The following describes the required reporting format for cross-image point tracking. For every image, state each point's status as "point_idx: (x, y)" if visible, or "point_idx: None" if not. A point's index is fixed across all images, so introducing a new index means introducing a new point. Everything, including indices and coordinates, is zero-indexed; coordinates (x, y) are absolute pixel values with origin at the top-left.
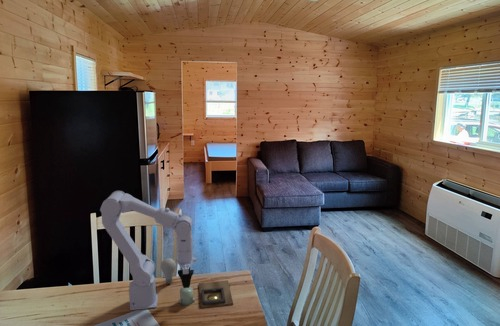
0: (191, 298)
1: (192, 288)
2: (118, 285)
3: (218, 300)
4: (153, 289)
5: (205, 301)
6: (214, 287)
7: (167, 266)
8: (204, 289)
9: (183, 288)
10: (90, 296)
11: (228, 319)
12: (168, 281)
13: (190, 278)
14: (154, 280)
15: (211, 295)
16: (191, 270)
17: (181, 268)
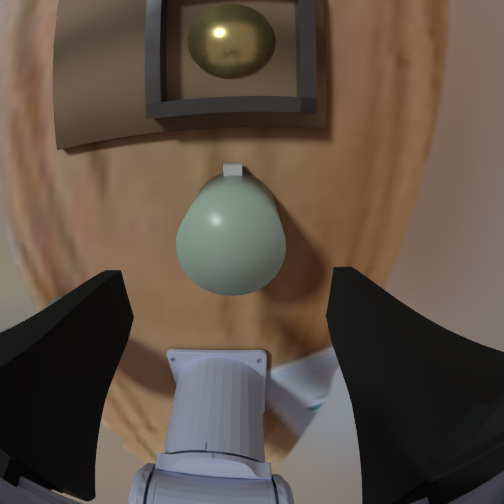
0: (264, 193)
1: (213, 200)
2: (121, 426)
3: (311, 9)
4: (239, 423)
5: (310, 93)
6: (111, 40)
7: None
8: (147, 98)
9: (206, 272)
10: None
11: (436, 17)
12: None
13: (446, 335)
14: (219, 458)
15: (208, 49)
16: (488, 429)
17: (103, 402)
